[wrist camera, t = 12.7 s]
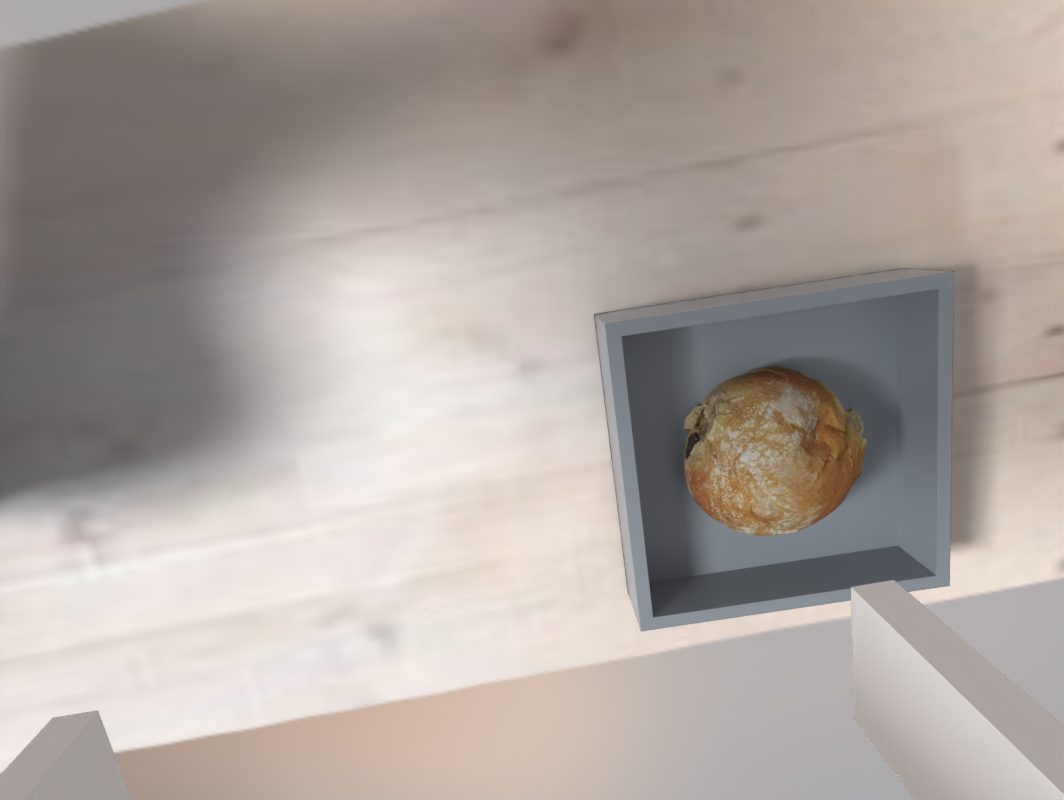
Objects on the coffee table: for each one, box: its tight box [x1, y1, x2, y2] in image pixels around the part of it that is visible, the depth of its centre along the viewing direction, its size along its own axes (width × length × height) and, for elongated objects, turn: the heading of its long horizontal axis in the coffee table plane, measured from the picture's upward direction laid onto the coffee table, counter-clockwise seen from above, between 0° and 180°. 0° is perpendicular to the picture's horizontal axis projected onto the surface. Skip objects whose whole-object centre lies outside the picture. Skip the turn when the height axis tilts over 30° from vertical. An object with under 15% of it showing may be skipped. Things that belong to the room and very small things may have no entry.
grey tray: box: [594, 268, 954, 631], centre depth 38 cm, size 19×19×4 cm
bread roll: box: [683, 366, 867, 536], centre depth 38 cm, size 10×10×8 cm
